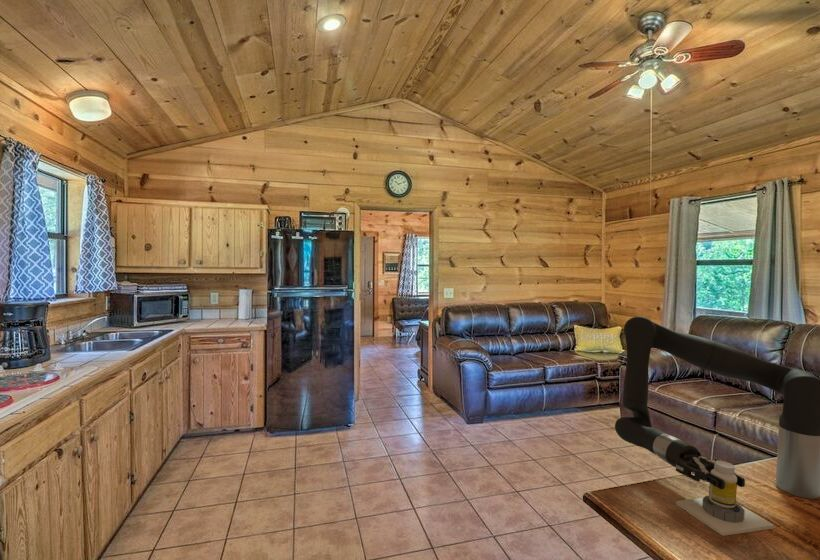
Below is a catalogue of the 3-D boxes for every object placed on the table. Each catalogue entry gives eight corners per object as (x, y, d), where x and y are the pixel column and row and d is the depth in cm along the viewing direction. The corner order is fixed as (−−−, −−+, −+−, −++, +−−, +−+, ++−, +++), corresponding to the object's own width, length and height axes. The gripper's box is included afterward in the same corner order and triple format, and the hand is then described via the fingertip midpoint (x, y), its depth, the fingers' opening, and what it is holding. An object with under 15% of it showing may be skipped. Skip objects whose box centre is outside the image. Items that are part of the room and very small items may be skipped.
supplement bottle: (740, 510, 101) (743, 471, 100) (715, 507, 102) (717, 468, 102) (728, 497, 106) (730, 460, 106) (704, 494, 107) (706, 457, 107)
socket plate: (722, 498, 112) (723, 487, 112) (774, 528, 99) (774, 516, 99) (675, 503, 109) (676, 493, 109) (722, 535, 96) (723, 524, 96)
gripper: (654, 440, 116) (710, 471, 100) (697, 437, 119) (758, 467, 103) (653, 467, 117) (708, 502, 100) (696, 463, 120) (756, 496, 103)
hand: (733, 484), depth 101 cm, fingers closed on supplement bottle, 5 cm apart
